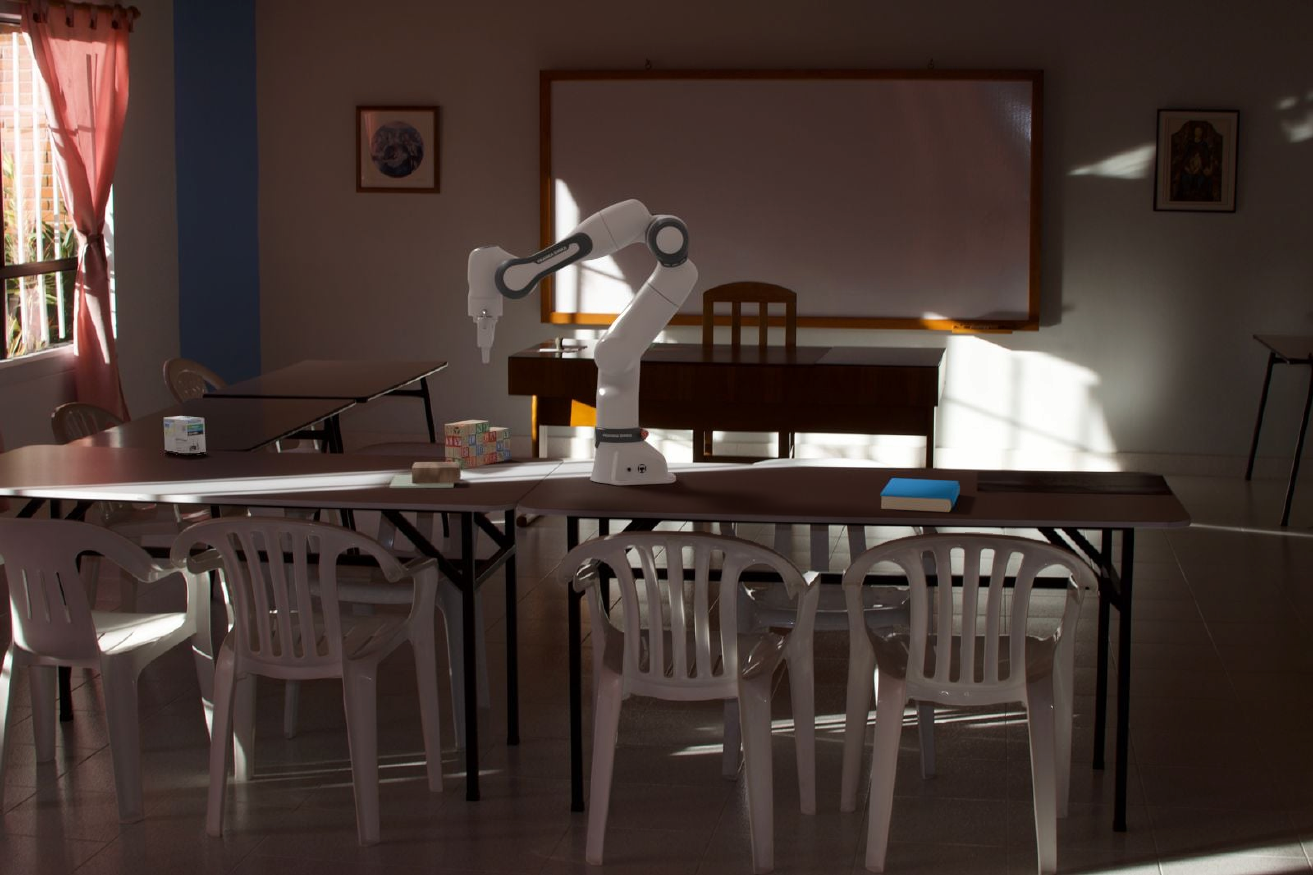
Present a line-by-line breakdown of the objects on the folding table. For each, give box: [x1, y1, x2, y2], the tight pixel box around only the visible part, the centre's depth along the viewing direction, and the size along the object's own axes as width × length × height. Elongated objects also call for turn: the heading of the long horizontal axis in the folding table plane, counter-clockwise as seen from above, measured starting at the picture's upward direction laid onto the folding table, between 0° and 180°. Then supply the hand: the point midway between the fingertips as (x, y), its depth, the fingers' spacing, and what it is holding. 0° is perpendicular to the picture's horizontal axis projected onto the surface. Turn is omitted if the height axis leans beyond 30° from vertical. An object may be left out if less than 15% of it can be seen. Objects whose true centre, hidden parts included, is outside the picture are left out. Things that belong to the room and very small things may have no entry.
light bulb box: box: [163, 415, 207, 453], centre depth 432 cm, size 11×7×11 cm, turn 58°
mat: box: [389, 474, 455, 489], centre depth 381 cm, size 16×18×1 cm
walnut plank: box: [411, 461, 462, 484], centre depth 381 cm, size 4×10×12 cm
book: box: [879, 477, 961, 513], centre depth 355 cm, size 17×4×25 cm
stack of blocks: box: [444, 419, 511, 469], centre depth 414 cm, size 21×6×12 cm, turn 147°
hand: (486, 362), depth 378 cm, fingers closed
